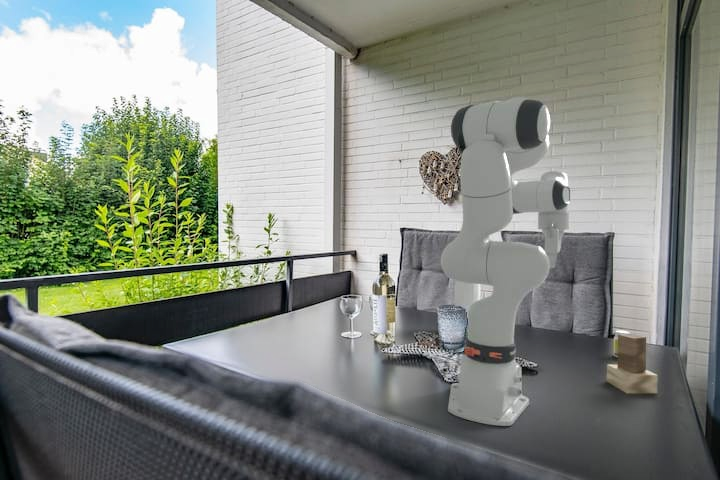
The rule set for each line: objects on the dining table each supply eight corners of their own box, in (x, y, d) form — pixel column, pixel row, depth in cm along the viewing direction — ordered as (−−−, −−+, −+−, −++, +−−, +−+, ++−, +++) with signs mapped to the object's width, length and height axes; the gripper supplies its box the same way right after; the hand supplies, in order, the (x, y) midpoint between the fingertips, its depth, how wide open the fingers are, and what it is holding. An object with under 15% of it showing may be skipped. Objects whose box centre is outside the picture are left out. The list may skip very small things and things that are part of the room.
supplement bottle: (632, 359, 130) (633, 334, 129) (616, 358, 130) (617, 333, 130) (626, 355, 134) (627, 330, 134) (610, 354, 135) (611, 329, 135)
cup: (483, 331, 161) (484, 278, 160) (475, 337, 152) (477, 281, 152) (458, 327, 167) (459, 276, 166) (449, 333, 158) (450, 279, 157)
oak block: (627, 394, 103) (627, 375, 103) (606, 382, 111) (607, 364, 111) (656, 394, 103) (657, 375, 103) (634, 382, 111) (634, 364, 111)
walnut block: (633, 372, 104) (634, 338, 104) (617, 367, 108) (617, 334, 108) (645, 371, 106) (646, 337, 106) (629, 366, 110) (629, 333, 110)
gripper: (563, 222, 116) (562, 269, 116) (565, 225, 134) (564, 266, 134) (539, 222, 119) (539, 268, 119) (544, 225, 137) (543, 265, 137)
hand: (552, 267), depth 127 cm, fingers open, 8 cm apart
